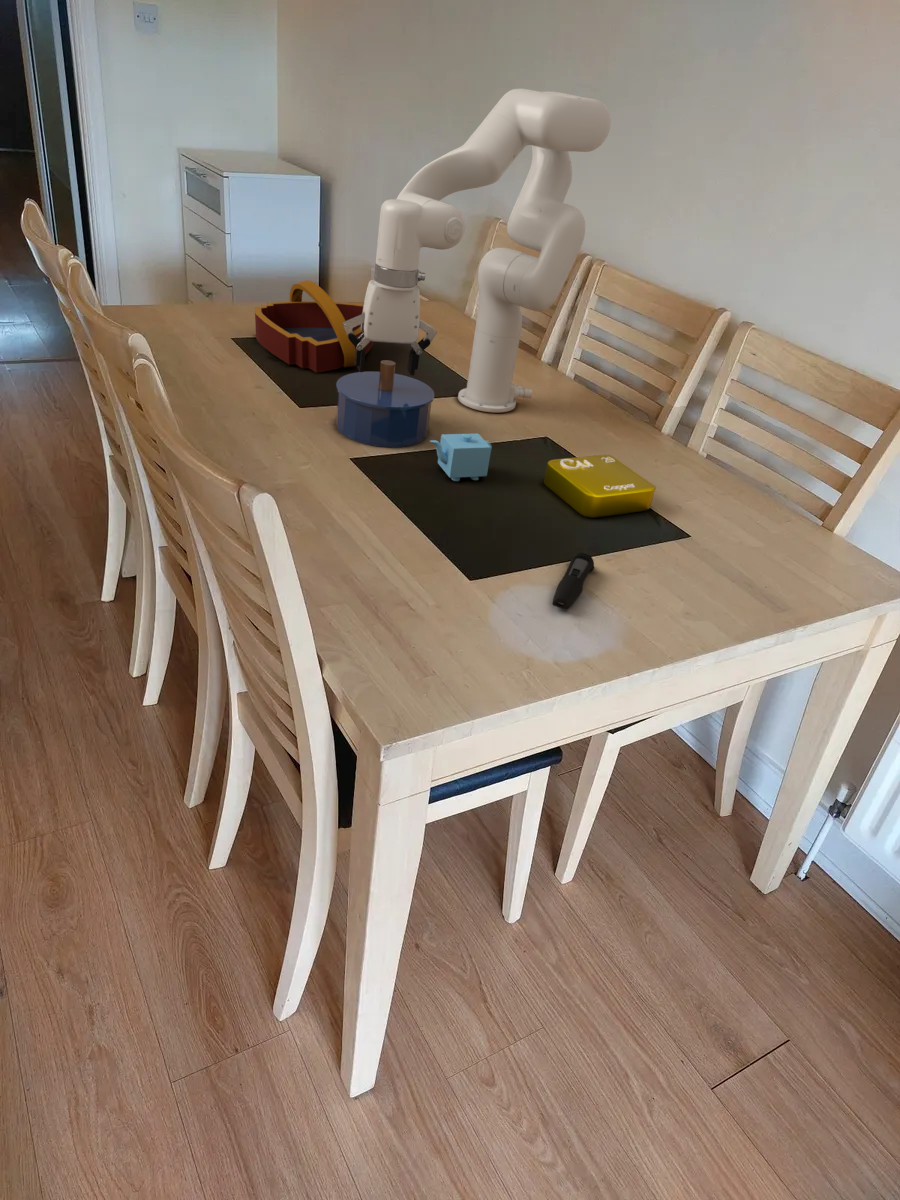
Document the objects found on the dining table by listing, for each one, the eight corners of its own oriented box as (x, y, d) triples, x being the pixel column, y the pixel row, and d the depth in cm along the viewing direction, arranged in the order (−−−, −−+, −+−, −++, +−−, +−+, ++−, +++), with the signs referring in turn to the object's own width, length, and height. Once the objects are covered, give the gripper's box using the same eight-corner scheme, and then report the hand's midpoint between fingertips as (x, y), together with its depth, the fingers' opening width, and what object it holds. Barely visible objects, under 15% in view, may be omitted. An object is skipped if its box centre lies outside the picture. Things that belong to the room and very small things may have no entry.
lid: (406, 375, 176) (410, 344, 173) (451, 409, 163) (455, 377, 160) (320, 379, 167) (322, 347, 164) (360, 416, 154) (362, 382, 151)
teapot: (431, 483, 151) (436, 443, 147) (419, 468, 156) (424, 429, 152) (493, 480, 156) (500, 441, 151) (480, 465, 160) (486, 427, 156)
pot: (402, 408, 179) (405, 373, 175) (443, 443, 167) (448, 406, 163) (322, 414, 171) (324, 377, 167) (359, 451, 158) (362, 412, 154)
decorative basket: (242, 334, 212) (233, 271, 203) (354, 317, 222) (350, 256, 213) (280, 386, 188) (272, 318, 179) (405, 364, 198) (402, 298, 188)
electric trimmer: (543, 612, 122) (547, 593, 120) (571, 562, 134) (575, 545, 132) (569, 620, 121) (573, 601, 119) (594, 570, 133) (599, 552, 131)
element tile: (585, 520, 147) (592, 494, 144) (538, 481, 158) (543, 457, 155) (654, 510, 154) (661, 486, 151) (604, 474, 164) (610, 450, 162)
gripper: (438, 276, 159) (426, 367, 168) (343, 267, 154) (336, 362, 163) (447, 286, 153) (434, 381, 162) (350, 277, 148) (342, 375, 157)
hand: (385, 371), depth 162 cm, fingers open, 9 cm apart
